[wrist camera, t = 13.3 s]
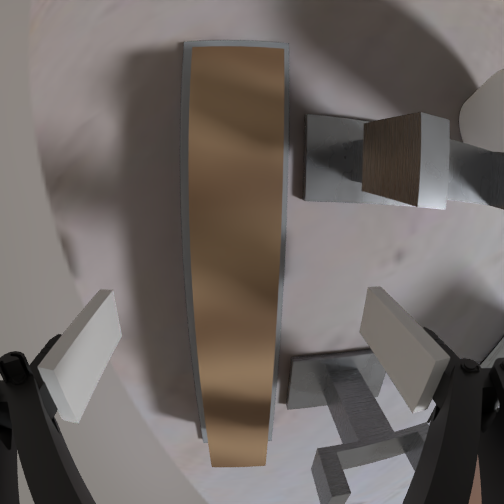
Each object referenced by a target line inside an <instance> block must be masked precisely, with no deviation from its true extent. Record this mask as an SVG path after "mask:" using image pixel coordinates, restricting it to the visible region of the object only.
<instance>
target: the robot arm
mask: <svg viewBox="0 0 504 504" xmlns="http://www.w3.org/2000/svg"><path fill="white" fill-rule="evenodd" d="M360 333H361V335H362V336H363V338H364V339H365V341H366V342H367V344H368V345H369V347H370V348H371V350H372V351H373V353H374V354H375V356H376V357H377V359H378V360H379V362H380V363H381V365H382V366H383V368H384V369H385V371H386V372H387V374H388V375H389V377H390V378H391V380H392V382H393V383H394V385H395V386H396V388H397V389H398V391H399V392H400V394H401V396H402V397H403V399H404V400H405V402H406V404H407V405H408V407H409V408H410V410H411V412H412V413H416V412H419V411H423V410H426V409H427V408H428V406H429V404H430V402H431V400H432V399H433V400H434V402H435V403H436V406H435V408H434V410H433V412H432V414H431V416H430V418H429V419H428V421H427V423H429V422H430V421H431V422H430V425H429V429H428V433H427V436H426V440H425V443H424V446H423V450H422V453H421V456H420V459H419V462H418V465H417V468H416V471H415V473H414V476H413V479H412V481H411V484H410V487H409V489H408V492H407V494H406V497H405V499H404V501H403V504H468V503H469V499H470V494H471V489H472V485H473V479H474V474H475V468H476V461H477V455H478V458H479V467H480V479H481V495H482V504H504V358H498V359H496V360H495V362H494V364H493V366H492V368H481V366H480V365H479V364H478V363H477V362H475V361H473V360H471V359H465V358H463V359H459V358H458V357H457V356H456V355H455V353H454V352H453V351H452V350H451V349H450V348H449V347H448V346H447V345H446V344H444V342H443V341H442V340H441V339H440V338H439V337H438V336H437V335H436V334H435V333H434V332H432V331H431V330H429V329H427V328H425V327H423V328H422V327H421V326H420V325H419V324H418V323H417V322H416V321H415V320H414V319H413V318H412V317H411V316H410V315H409V314H408V313H407V312H406V311H405V310H404V309H403V308H402V307H401V306H400V305H399V304H398V303H397V302H396V301H395V300H394V299H393V298H392V297H391V296H390V295H389V294H388V293H387V292H386V291H385V290H383V289H382V288H381V287H368V290H367V296H366V301H365V307H364V312H363V317H362V322H361V327H360ZM121 337H122V333H121V328H120V323H119V319H118V314H117V308H116V303H115V298H114V292H113V290H99V291H98V293H97V294H96V295H95V296H94V297H93V298H92V299H91V301H90V302H89V303H88V304H87V305H86V306H85V308H84V309H83V310H82V311H81V313H80V314H79V315H78V316H77V317H76V318H75V320H74V321H73V322H72V323H71V325H70V326H69V327H68V328H67V330H66V331H65V332H64V333H63V334H62V335H61V334H58V335H56V336H55V337H53V338H52V339H50V340H49V341H48V343H47V344H46V345H45V348H43V349H42V350H41V352H40V353H39V354H38V355H37V356H36V358H35V359H34V360H33V362H32V363H31V364H30V365H29V364H28V362H27V359H26V357H25V356H24V354H23V353H21V352H17V351H14V352H9V353H7V354H5V355H3V356H2V357H1V358H0V374H1V376H2V378H3V380H2V381H1V380H0V504H20V503H19V492H18V475H17V450H18V454H19V458H20V461H21V465H22V468H23V471H24V475H25V478H26V481H27V484H28V487H29V490H30V492H31V495H32V498H33V501H34V503H35V504H96V503H95V501H94V500H93V498H92V496H91V494H90V492H89V490H88V489H87V487H86V485H85V483H84V481H83V479H82V478H81V476H80V473H79V471H78V469H77V467H76V465H75V463H74V461H73V459H72V457H71V454H70V452H69V450H68V448H67V445H66V443H65V441H64V438H63V436H62V433H61V431H60V428H59V426H58V423H57V421H56V419H55V418H54V415H55V414H56V412H57V410H58V412H59V414H60V416H61V418H62V419H63V420H65V421H70V422H74V423H79V421H80V419H81V417H82V414H83V412H84V410H85V408H86V406H87V404H88V402H89V400H90V398H91V396H92V393H93V391H94V389H95V387H96V385H97V383H98V381H99V379H100V377H101V375H102V373H103V371H104V369H105V367H106V365H107V363H108V361H109V359H110V358H111V356H112V354H113V352H114V350H115V348H116V346H117V344H118V342H119V340H120V339H121ZM498 406H499V408H498Z"/></svg>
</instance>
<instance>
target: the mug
mask: <svg viewBox="0 0 504 504" xmlns="http://www.w3.org/2000/svg"><path fill="white" fill-rule="evenodd" d="M459 128H460V133H461V137H462V140H463V143H467V144H470V145H473V146H477V147H480V148H483V149H486V150H489V151H493V152H504V69H502V70H500V71H498V72H497V73H495V74H494V75H492V76H491V77H490V78H489V79H488V80H487V81H486V82H485V83H484V84H483V85H482V86H481V87H480V88H479V89H478V90H477V91H476V92H475V93H474V94H473V95H472V96H471V97H470V98H469V99H468V100H467V101H466V102H465V103H464V104H463V106H462V108H461V111H460V115H459Z"/></svg>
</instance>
